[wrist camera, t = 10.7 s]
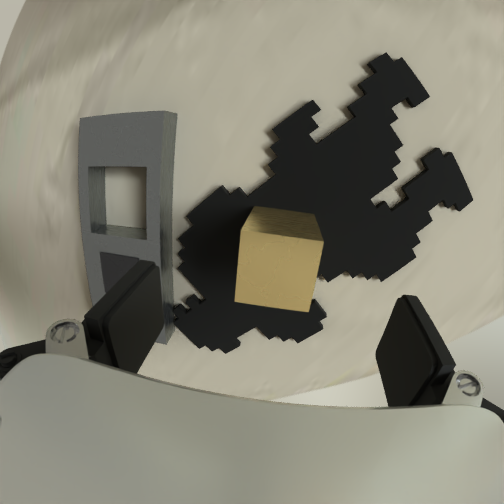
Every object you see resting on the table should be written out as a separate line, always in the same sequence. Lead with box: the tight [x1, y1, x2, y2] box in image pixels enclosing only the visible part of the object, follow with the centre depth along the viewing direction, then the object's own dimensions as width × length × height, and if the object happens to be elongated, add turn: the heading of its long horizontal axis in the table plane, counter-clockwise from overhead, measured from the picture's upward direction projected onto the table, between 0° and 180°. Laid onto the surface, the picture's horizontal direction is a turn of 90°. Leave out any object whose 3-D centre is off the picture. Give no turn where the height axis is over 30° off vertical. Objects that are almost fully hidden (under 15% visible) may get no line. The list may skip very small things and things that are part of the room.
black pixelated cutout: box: [172, 53, 473, 354], centre depth 22 cm, size 16×1×30 cm
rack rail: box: [78, 111, 177, 345], centre depth 23 cm, size 20×8×3 cm, turn 175°
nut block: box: [235, 206, 324, 312], centre depth 19 cm, size 4×4×7 cm
